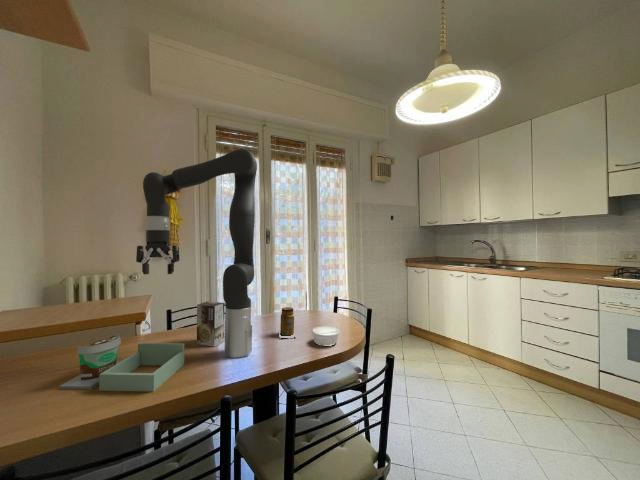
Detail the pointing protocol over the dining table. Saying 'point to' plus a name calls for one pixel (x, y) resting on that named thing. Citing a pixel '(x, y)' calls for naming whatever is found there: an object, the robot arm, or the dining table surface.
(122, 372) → the pale green open box
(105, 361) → the food container
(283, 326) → the condiment
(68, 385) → the slate tile
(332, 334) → the ramekin
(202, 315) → the coffee box
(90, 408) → the dining table surface
